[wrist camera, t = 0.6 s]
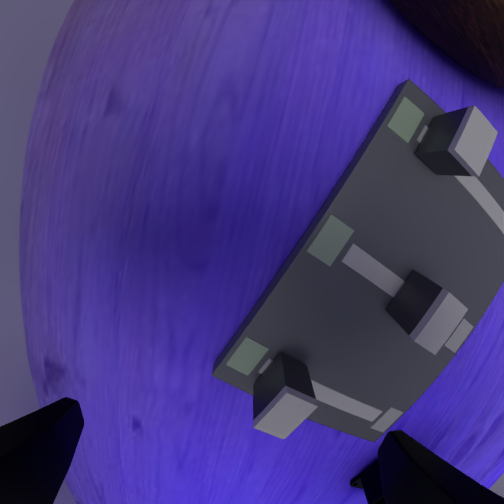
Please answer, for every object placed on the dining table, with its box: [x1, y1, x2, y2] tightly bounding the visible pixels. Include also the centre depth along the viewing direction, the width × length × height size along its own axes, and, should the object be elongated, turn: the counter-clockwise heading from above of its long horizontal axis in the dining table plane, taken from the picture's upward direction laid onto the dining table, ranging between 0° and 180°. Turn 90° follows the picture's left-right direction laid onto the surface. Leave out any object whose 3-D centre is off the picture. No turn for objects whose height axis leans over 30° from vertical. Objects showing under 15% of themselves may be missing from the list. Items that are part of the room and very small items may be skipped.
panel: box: [212, 79, 504, 442], centre depth 18 cm, size 15×22×2 cm
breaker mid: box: [385, 270, 468, 355], centre depth 15 cm, size 2×3×4 cm, turn 148°
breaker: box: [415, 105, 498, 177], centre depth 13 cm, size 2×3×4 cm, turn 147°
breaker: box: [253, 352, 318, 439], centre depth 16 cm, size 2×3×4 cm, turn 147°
